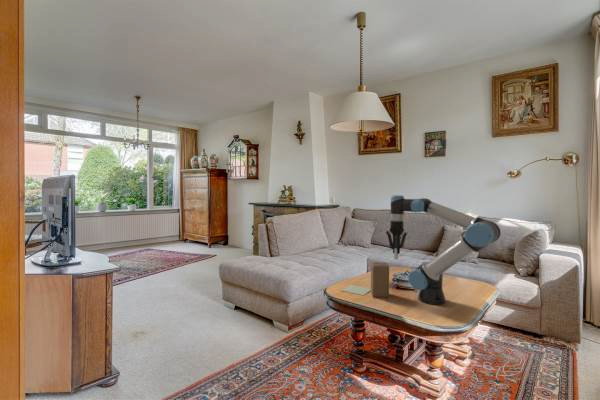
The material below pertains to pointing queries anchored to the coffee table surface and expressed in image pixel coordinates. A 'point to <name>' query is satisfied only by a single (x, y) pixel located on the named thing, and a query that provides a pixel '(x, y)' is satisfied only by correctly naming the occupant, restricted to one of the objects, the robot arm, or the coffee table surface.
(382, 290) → the block
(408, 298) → the coffee table surface
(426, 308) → the coffee table surface
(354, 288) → the mat
